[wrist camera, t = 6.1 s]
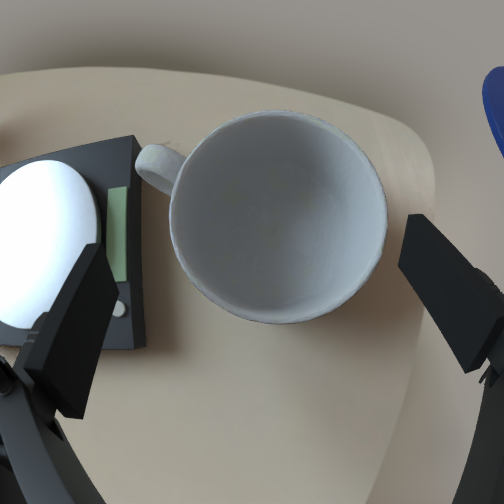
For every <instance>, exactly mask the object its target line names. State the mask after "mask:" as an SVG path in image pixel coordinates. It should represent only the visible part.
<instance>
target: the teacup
mask: <svg viewBox="0 0 504 504" xmlns="http://www.w3.org/2000/svg"><path fill="white" fill-rule="evenodd" d="M135 169H136V171H137V173H138V174H139V175H140V176H141V177H142V178H143V179H144V180H145V181H146V182H148V183H149V184H151V185H152V186H154V187H155V188H157V189H158V190H160V191H162V192H163V193H165V194H167V195H169V196H171V201H170V207H169V222H170V235H171V239H172V243H173V247H174V251H175V254H176V256H177V258H178V260H179V263H180V264H181V266H182V268H183V270H184V271H185V273H186V275H187V276H188V277H189V279H190V280H191V282H192V283H193V284H194V285H195V286H196V287H197V288H198V289H199V290H200V291H201V292H202V293H203V294H204V295H205V296H206V297H207V298H208V299H210V300H211V301H212V302H214V303H215V304H217V305H218V306H220V307H221V308H223V309H224V310H226V311H228V312H230V313H232V314H234V315H236V316H239V317H241V318H244V319H247V320H251V321H256V322H261V323H267V324H294V323H299V322H304V321H308V320H311V319H315V318H318V317H321V316H323V315H325V314H328V313H330V312H332V311H334V310H336V309H337V308H338V307H340V306H341V305H343V304H344V303H346V302H347V301H348V300H349V299H350V298H352V297H353V296H354V295H355V294H356V293H357V292H358V291H359V290H360V288H361V287H362V286H363V285H364V284H365V282H366V281H367V280H368V279H369V277H370V276H371V274H372V273H373V271H374V269H375V268H376V266H377V264H378V262H379V260H380V258H381V256H382V252H383V248H384V245H385V241H386V236H387V228H388V208H387V201H386V196H385V193H384V189H383V186H382V183H381V181H380V178H379V176H378V174H377V172H376V170H375V168H374V166H373V165H372V163H371V162H370V160H369V158H368V157H367V156H366V154H365V153H364V152H363V151H362V150H361V148H360V147H359V146H358V145H357V144H356V143H355V142H354V141H353V140H352V139H351V138H350V137H349V136H348V135H346V134H345V133H344V132H342V131H341V130H339V129H338V128H336V127H334V126H333V125H331V124H329V123H327V122H325V121H323V120H321V119H319V118H315V117H313V116H311V115H304V114H301V113H297V112H293V111H283V110H266V111H260V112H255V113H249V114H246V115H243V116H240V117H237V118H234V119H232V120H231V121H228V122H226V123H224V124H222V125H221V126H219V127H218V128H216V129H215V130H214V131H212V132H211V133H210V134H209V135H208V136H206V137H205V138H204V139H203V140H202V141H201V142H200V143H199V144H198V145H197V146H196V147H195V149H194V150H193V151H192V152H191V153H190V154H189V156H188V157H187V158H186V157H185V156H183V155H181V154H179V153H178V152H176V151H174V150H172V149H170V148H167V147H165V146H162V145H157V144H151V145H148V146H146V147H144V148H143V149H142V151H141V152H140V153H139V156H138V158H137V160H136V163H135Z"/></svg>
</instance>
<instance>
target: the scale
mask: <svg viewBox="0 0 504 504" xmlns="http://www.w3.org/2000/svg"><path fill="white" fill-rule="evenodd" d="M141 151H142V148H141V147H140V145H139V143H138V141H137V140H136V138H135V136H134V135H130V136H125V137H119V138H114V139H109V140H104V141H99V142H95V143H90V144H85V145H81V146H77V147H73V148H68V149H64V150H60V151H56V152H53V153H49V154H45V155H41V156H38V157H34V158H31V159H27V160H24V161H21V162H17V163H14V164H11V165H8V166H5V167H1V168H0V185H1V184H2V183H3V181H4V180H5V179H6V178H8V177H9V176H10V175H11V174H12V173H14V172H15V171H17V170H18V169H20V168H21V167H23V166H25V165H27V164H30V163H33V162H36V161H41V160H55V161H60V162H63V163H66V164H68V165H70V166H71V167H73V168H74V169H75V170H77V171H78V172H79V173H80V174H81V175H82V176H83V177H84V178H85V179H86V180H87V182H88V183H89V184H90V186H91V188H92V189H93V191H94V194H95V196H96V198H97V201H98V205H99V209H100V215H101V227H102V235H101V242H102V244H103V247H104V250H105V253H106V256H107V259H108V262H109V265H110V268H111V271H112V273H113V276H114V279H115V282H116V284H117V287H118V290H119V292H120V294H119V296H118V299H117V302H116V305H115V308H114V311H113V314H112V317H111V320H110V323H109V327H108V330H107V333H106V336H105V339H104V343H103V346H102V349H101V350H130V349H138V348H142V347H146V337H145V325H144V311H143V294H142V271H141V178H142V177H141V176H140V175H139V174H138V173H137V171H136V169H135V163H136V160H137V158H138V156H139V153H140V152H141ZM30 330H31V329H30ZM30 330H29V329H17V328H14V327H11V326H9V325H7V324H5V323H3V322H2V321H0V345H6V346H19V347H22V346H23V344H24V342H26V341H25V340H26V338H27V336H28V334H30Z"/></svg>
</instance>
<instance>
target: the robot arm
mask: <svg viewBox="0 0 504 504" xmlns="http://www.w3.org/2000/svg"><path fill="white" fill-rule="evenodd" d="M398 267H399V268H400V270H401V271H402V273H403V274H404V276H405V277H406V278H407V280H408V281H409V283H410V284H411V286H412V287H413V289H414V290H415V292H416V293H417V295H418V296H419V298H420V299H421V301H422V303H423V304H424V306H425V307H426V309H427V310H428V312H429V313H430V315H431V316H432V318H433V320H434V321H435V323H436V324H437V326H438V328H439V330H440V331H441V333H442V334H443V336H444V338H445V339H446V341H447V343H448V344H449V346H450V348H451V349H452V351H453V353H454V355H455V356H456V358H457V360H458V362H459V364H460V365H461V367H462V369H463V371H464V373H465V374H466V373H469V372H471V371H474V370H477V369H479V368H480V367H481V366H482V364H483V363H484V361H485V360H486V358H488V360H489V361H490V365H489V367H488V368H487V370H486V371H485V372H484V374H483V375H482V377H481V378H480V380H479V383H482V381H483V380H484V378H486V381H485V384H484V385H485V386H484V392H483V397H482V403H481V407H480V413H479V417H478V421H477V425H476V430H475V434H474V438H473V442H472V445H471V448H470V452H469V455H468V459H467V462H466V465H465V468H464V472H463V475H462V477H461V480H460V483H459V486H458V489H457V492H456V494H455V497H454V499H453V502H452V504H504V294H503V293H502V292H500V290H499V289H498V287H497V286H496V285H494V282H493V281H492V280H491V279H490V278H489V277H488V276H487V275H486V274H485V273H483V272H482V271H481V270H479V269H478V268H474V267H473V266H472V265H471V264H470V263H469V262H468V260H467V259H466V258H465V257H464V256H463V255H462V254H461V253H460V252H459V251H458V250H457V248H456V247H455V246H454V245H453V244H452V243H451V242H450V241H449V240H448V239H447V238H446V237H445V236H444V235H443V234H442V233H441V232H440V231H439V230H438V229H437V228H436V227H435V226H434V225H433V224H432V223H431V222H430V221H429V220H428V219H427V218H426V217H425V216H424V215H423V214H410V215H408V219H407V225H406V230H405V235H404V240H403V245H402V249H401V254H400V259H399V263H398ZM119 294H120V292H119V290H118V287H117V284H116V282H115V279H114V276H113V273H112V271H111V268H110V265H109V262H108V259H107V256H106V253H105V250H104V247H103V244H102V242H98V243H90V244H86V245H85V247H84V249H83V250H82V252H81V254H80V255H79V257H78V259H77V261H76V262H75V264H74V266H73V267H72V269H71V271H70V273H69V275H68V276H67V278H66V280H65V282H64V284H63V285H62V287H61V289H60V291H59V293H58V295H57V297H56V298H55V300H54V302H53V304H52V306H51V308H50V310H49V312H43V313H42V314H41V315H40V316H39V317H38V318H37V319H36V320H35V322H34V324H33V326H32V328H31V330H30V334H28V336H27V338H26V340H25V341H26V342H24V344H23V346H22V348H21V350H20V353H19V355H18V357H17V359H16V361H15V364H14V366H13V368H12V367H11V366H10V365H9V363H8V362H7V361H6V359H5V358H4V357H2V356H1V355H0V504H106V503H105V501H104V500H103V498H102V497H101V495H100V494H99V492H98V491H97V489H96V488H95V486H94V485H93V483H92V481H91V480H90V478H89V477H88V475H87V473H86V472H85V470H84V468H83V467H82V465H81V463H80V462H79V460H78V458H77V456H76V454H75V453H74V451H73V449H72V447H71V445H70V443H69V442H68V440H67V438H66V436H65V434H64V432H63V430H62V428H61V426H60V424H59V422H58V421H57V419H56V418H55V417H54V416H55V412H56V409H57V410H58V411H59V412H60V413H61V414H62V415H63V416H64V417H66V418H74V419H83V417H84V413H85V409H86V405H87V401H88V397H89V393H90V389H91V385H92V381H93V377H94V374H95V370H96V367H97V363H98V359H99V356H100V353H101V349H102V346H103V343H104V339H105V336H106V333H107V330H108V327H109V323H110V320H111V317H112V314H113V311H114V308H115V305H116V302H117V299H118V296H119Z"/></svg>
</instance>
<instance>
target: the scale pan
mask: <svg viewBox="0 0 504 504" xmlns="http://www.w3.org/2000/svg"><path fill="white" fill-rule="evenodd" d="M101 235H102V227H101V215H100V209H99V205H98V201H97V198H96V196H95V194H94V191H93V189H92V188H91V186H90V184H89V183H88V182H87V180H86V179H85V178H84V177H83V176H82V175H81V174H80V173H79V172H78V171H77V170H75V169H74V168H73V167H71V166H70V165H68V164H66V163H63V162H60V161H55V160H41V161H36V162H33V163H30V164H27V165H25V166H23V167H21V168H20V169H18V170H17V171H15V172H14V173H12V174H11V175H10V176H9V177H8V178H6V179H5V180H4V181H3V183H2V184H1V185H0V321H2V322H3V323H5V324H7V325H9V326H11V327H14V328H17V329H29V330H30V329H31V328H32V326H33V324H34V322H35V320H36V319H37V318H38V317H39V316H40V315H41V314H42V313H43V312H49V310H50V308H51V306H52V304H53V302H54V300H55V298H56V297H57V295H58V293H59V291H60V289H61V287H62V285H63V284H64V282H65V280H66V278H67V276H68V275H69V273H70V271H71V269H72V267H73V266H74V264H75V262H76V261H77V259H78V257H79V255H80V254H81V252H82V250H83V249H84V247H85V245H86V244H90V243H98V242H101Z"/></svg>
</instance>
